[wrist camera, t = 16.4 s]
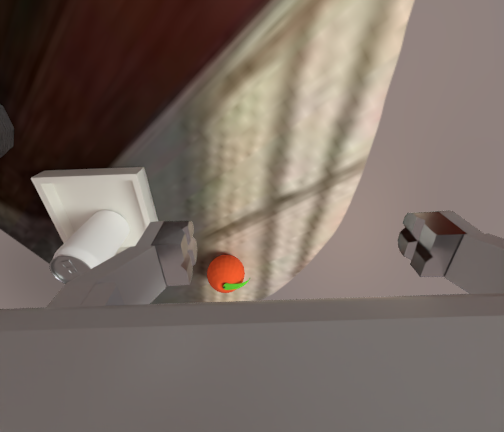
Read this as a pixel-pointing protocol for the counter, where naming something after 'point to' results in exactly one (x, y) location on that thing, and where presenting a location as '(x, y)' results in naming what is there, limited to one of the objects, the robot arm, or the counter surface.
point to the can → (89, 245)
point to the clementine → (226, 273)
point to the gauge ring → (5, 132)
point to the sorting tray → (97, 198)
